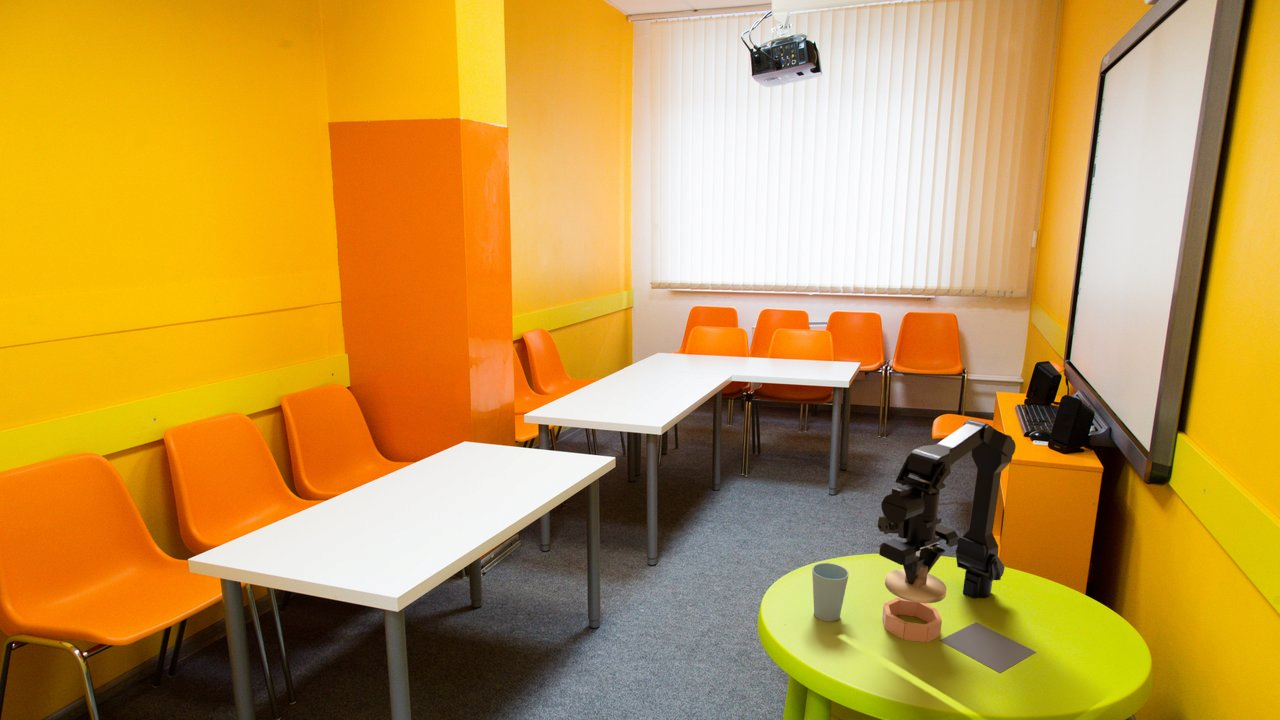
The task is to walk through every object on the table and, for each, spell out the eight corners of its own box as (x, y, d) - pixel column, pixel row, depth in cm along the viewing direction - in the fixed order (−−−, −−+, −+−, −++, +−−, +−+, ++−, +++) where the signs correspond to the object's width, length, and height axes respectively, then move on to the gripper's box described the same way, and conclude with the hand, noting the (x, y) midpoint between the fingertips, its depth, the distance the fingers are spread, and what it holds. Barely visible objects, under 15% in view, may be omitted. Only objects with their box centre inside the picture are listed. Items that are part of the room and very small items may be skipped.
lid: (908, 569, 163) (910, 547, 162) (958, 592, 154) (960, 569, 152) (872, 583, 157) (874, 560, 156) (922, 609, 147) (924, 585, 146)
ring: (904, 612, 164) (906, 593, 164) (948, 635, 156) (951, 616, 155) (871, 626, 158) (873, 607, 158) (916, 652, 150) (918, 631, 149)
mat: (975, 627, 159) (976, 621, 159) (1035, 657, 149) (1036, 651, 148) (938, 645, 152) (939, 640, 152) (999, 678, 141) (1000, 673, 141)
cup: (852, 620, 161) (856, 575, 159) (823, 627, 158) (827, 582, 156) (830, 603, 168) (833, 560, 166) (802, 610, 165) (805, 566, 163)
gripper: (916, 490, 163) (910, 555, 166) (860, 507, 153) (854, 577, 156) (963, 506, 154) (955, 576, 157) (906, 526, 144) (899, 600, 147)
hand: (915, 581), depth 155 cm, fingers closed on lid, 3 cm apart
